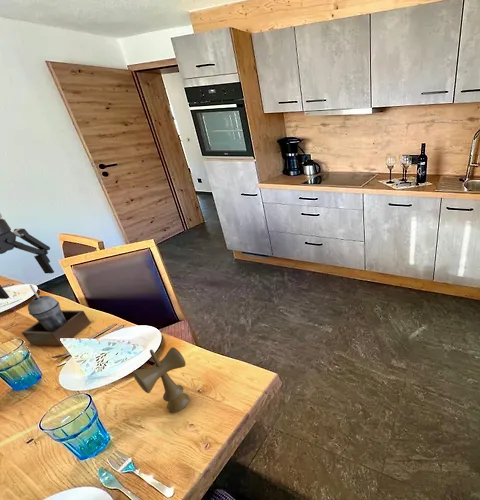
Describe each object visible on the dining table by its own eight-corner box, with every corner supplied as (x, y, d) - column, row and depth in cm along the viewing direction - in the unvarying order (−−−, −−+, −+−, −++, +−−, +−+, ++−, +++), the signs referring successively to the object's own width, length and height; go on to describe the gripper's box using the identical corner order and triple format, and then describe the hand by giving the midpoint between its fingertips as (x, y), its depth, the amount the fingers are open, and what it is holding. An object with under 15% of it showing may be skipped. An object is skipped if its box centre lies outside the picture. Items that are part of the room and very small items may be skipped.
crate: (31, 345, 96) (21, 332, 94) (62, 322, 106) (54, 310, 103) (61, 346, 95) (52, 333, 93) (90, 322, 105) (83, 310, 102)
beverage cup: (46, 344, 96) (10, 296, 87) (50, 332, 102) (16, 285, 92) (74, 334, 100) (43, 287, 90) (76, 323, 105) (46, 277, 96)
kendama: (154, 413, 73) (121, 358, 64) (191, 384, 80) (166, 331, 71) (165, 426, 70) (132, 370, 61) (202, 396, 77) (178, 341, 67)
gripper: (-64, 242, 69) (-7, 310, 80) (41, 206, 91) (75, 263, 101) (-90, 242, 70) (-31, 310, 80) (20, 207, 92) (56, 264, 102)
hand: (28, 284), depth 91 cm, fingers open, 13 cm apart
